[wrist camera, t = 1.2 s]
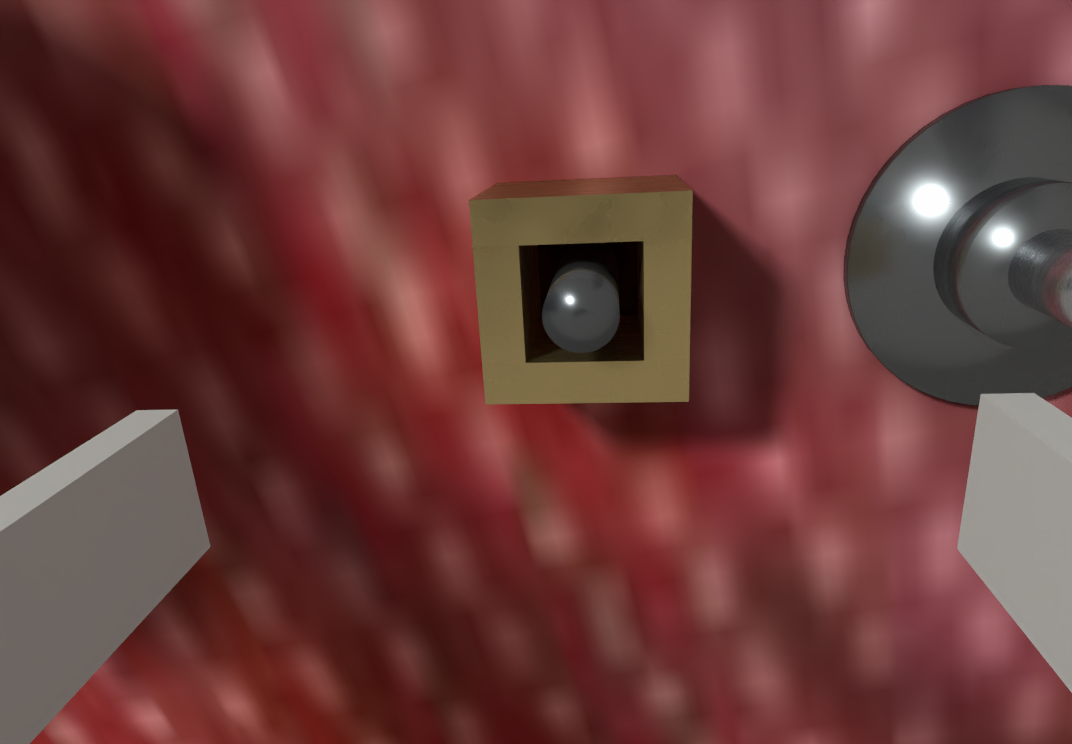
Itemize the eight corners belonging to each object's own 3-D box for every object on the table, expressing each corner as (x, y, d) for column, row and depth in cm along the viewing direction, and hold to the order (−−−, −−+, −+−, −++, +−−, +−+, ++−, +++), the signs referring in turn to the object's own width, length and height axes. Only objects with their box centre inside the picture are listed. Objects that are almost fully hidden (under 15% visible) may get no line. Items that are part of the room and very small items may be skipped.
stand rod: (559, 297, 30) (544, 354, 23) (557, 239, 29) (540, 279, 22) (618, 295, 30) (620, 352, 23) (617, 237, 29) (619, 276, 22)
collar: (508, 351, 31) (485, 404, 26) (496, 183, 29) (468, 200, 23) (674, 348, 30) (688, 401, 25) (676, 174, 28) (692, 190, 22)
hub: (831, 402, 31) (891, 481, 24) (858, 95, 27) (939, 89, 20) (1142, 398, 29) (1296, 480, 23) (1219, 75, 25) (1432, 62, 19)
